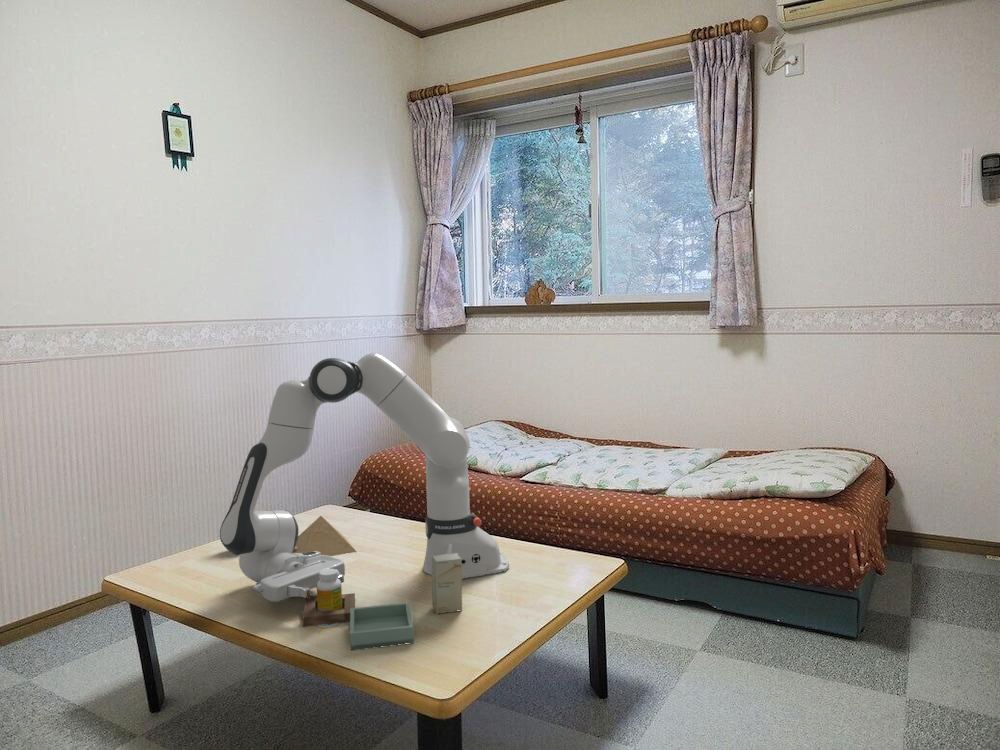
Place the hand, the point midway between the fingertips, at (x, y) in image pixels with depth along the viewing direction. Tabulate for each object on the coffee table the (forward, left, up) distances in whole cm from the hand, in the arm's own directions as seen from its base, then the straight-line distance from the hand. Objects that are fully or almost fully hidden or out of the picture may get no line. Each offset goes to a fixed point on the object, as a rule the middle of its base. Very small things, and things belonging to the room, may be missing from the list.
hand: (325, 586), depth 163 cm
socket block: (-1, +1, -6) cm, 6 cm away
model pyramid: (+3, -46, -7) cm, 46 cm away
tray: (-12, +14, -6) cm, 19 cm away
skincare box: (-27, +5, -6) cm, 28 cm away
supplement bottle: (-1, +1, -6) cm, 6 cm away
